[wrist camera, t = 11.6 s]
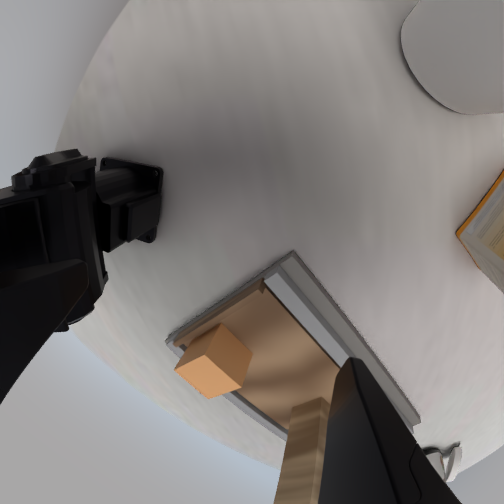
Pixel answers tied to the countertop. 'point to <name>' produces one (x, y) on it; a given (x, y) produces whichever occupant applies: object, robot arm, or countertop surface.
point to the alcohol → (458, 52)
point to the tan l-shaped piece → (281, 381)
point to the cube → (215, 362)
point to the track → (320, 327)
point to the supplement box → (487, 234)
